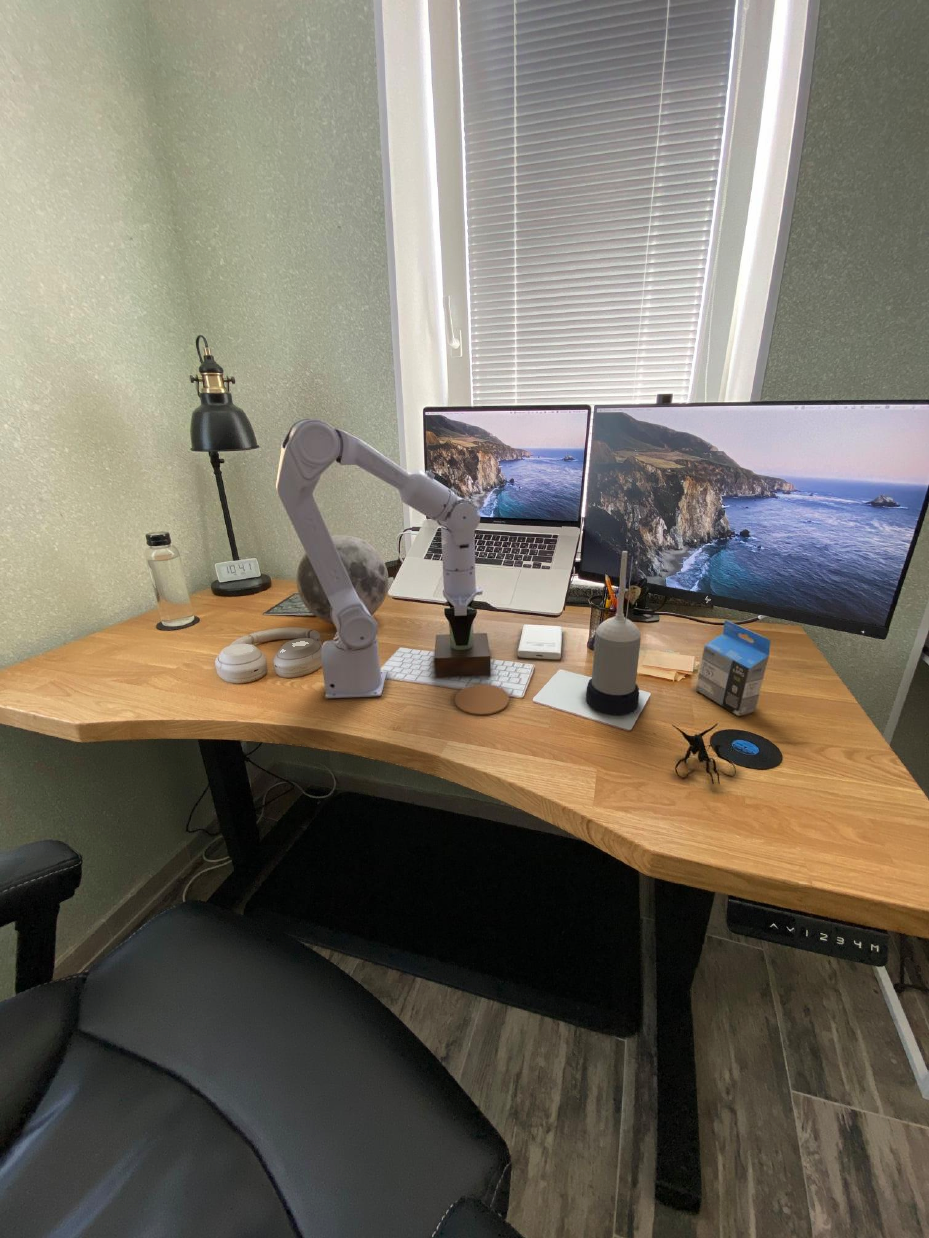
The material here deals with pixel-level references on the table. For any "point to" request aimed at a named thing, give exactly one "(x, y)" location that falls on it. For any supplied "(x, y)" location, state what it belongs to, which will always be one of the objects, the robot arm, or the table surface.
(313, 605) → the moon model
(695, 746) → the creature
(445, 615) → the robot arm
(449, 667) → the stand
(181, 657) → the table surface
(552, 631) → the hard drive
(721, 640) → the label tape box
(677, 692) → the table surface
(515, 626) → the table surface
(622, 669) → the humidifier
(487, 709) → the coaster
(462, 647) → the sage green cylinder
